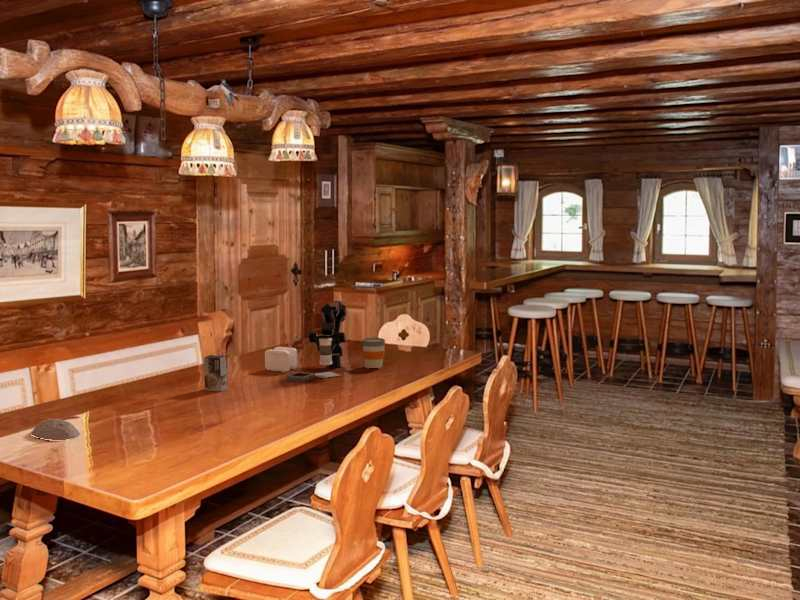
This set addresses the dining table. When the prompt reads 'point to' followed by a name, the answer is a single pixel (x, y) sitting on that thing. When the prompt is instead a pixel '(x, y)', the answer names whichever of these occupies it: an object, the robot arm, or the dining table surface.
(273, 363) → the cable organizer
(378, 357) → the reusable coffee cup
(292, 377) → the reel dock
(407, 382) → the dining table surface
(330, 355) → the cable reel
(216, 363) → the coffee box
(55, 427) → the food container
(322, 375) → the rubber mat
